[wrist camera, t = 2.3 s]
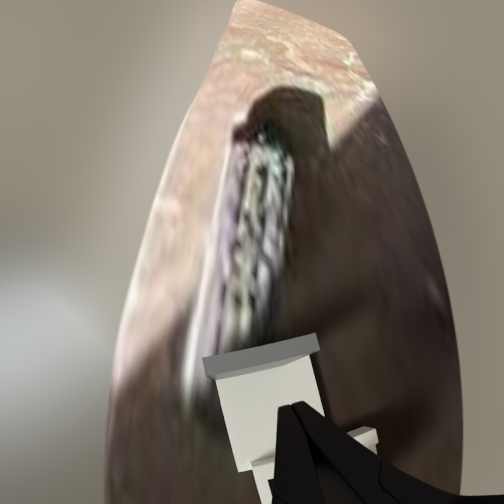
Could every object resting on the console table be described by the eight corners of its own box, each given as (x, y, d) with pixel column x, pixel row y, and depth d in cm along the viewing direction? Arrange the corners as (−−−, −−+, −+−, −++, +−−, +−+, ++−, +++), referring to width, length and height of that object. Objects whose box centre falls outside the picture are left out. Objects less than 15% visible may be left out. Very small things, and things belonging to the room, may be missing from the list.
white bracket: (376, 484, 18) (449, 520, 9) (254, 523, 17) (270, 593, 8) (341, 339, 23) (406, 305, 14) (213, 369, 22) (202, 357, 13)
